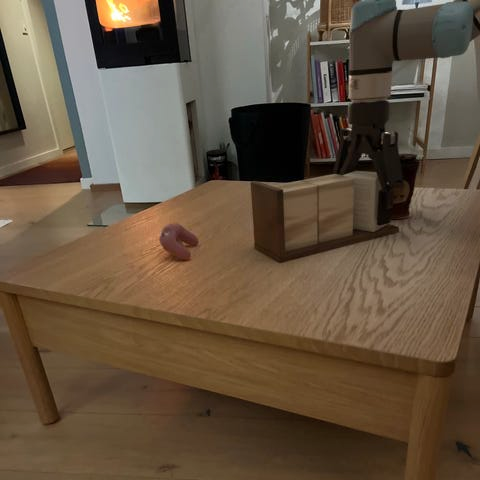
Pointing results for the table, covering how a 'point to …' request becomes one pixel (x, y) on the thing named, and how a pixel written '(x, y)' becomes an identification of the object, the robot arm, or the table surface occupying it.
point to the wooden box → (306, 217)
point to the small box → (365, 200)
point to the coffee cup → (405, 186)
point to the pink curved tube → (177, 240)
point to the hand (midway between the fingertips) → (364, 217)
